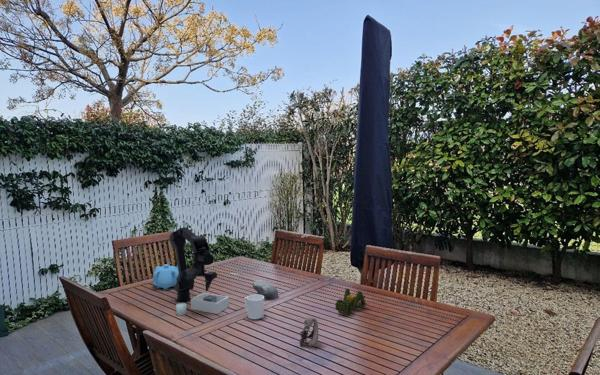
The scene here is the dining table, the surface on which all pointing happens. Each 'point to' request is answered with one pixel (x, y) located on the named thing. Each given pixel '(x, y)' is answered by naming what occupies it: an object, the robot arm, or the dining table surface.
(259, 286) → the rock
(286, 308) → the dining table surface
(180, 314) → the jar
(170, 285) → the teapot
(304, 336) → the toy
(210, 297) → the metal block
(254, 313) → the mug
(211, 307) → the tote
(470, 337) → the dining table surface
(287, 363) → the dining table surface
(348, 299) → the toy
